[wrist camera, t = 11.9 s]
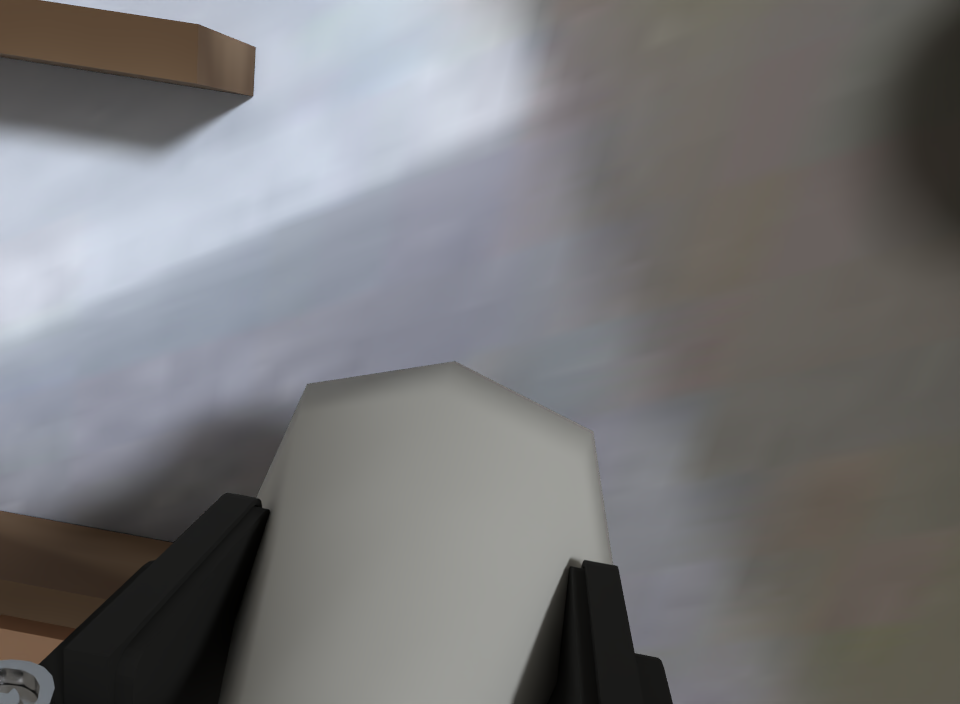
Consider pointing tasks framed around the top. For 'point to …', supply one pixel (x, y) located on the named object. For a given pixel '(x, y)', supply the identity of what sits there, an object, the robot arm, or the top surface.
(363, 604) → the flask
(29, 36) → the bay
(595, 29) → the top surface
